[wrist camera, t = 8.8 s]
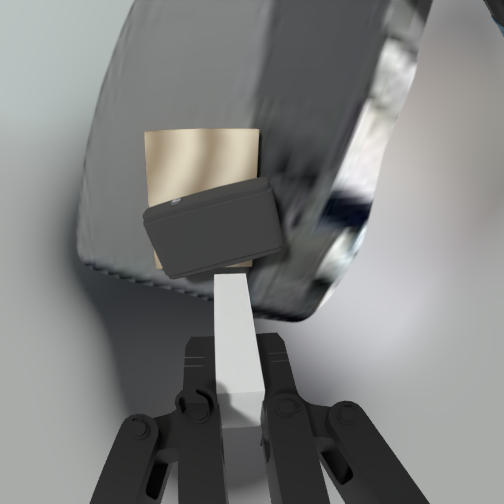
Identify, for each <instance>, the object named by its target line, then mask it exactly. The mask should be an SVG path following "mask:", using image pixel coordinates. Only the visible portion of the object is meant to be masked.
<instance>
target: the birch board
mask: <svg viewBox="0 0 504 504" xmlns="http://www.w3.org/2000/svg"><path fill="white" fill-rule="evenodd" d="M258 142H259V130H258V129H222V128H219V129H178V130H160V131H147V132H145V155H146V173H147V187H148V200H149V208H150V207H152V206H155V205H158V204H161V203H164V202H167V201H170V200H174V199H177V198H180V197H184V196H187V195H190V194H194V193H197V192H201V191H204V190H208V189H212V188H215V187H219V186H223V185H227V184H232V183H236V182H240V181H245V180H249V179H254V178H257V161H258ZM154 254H155V261H156V268H157V269H160V268H162V266H161V263H160V261H159V259H158V257H157V254H156V252H155V250H154ZM226 267H252V260H249V261H246V262H242V263H238V264H234V265H230V266H226Z"/></svg>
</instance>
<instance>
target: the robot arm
mask: <svg viewBox="0 0 504 504" xmlns="http://www.w3.org/2000/svg"><path fill="white" fill-rule="evenodd" d="M483 1H484V2H485V4H486V6H487V7H488V9H489V11H490V13H491V17H492V18H493V20H494V22H495V23H496V24H497V25H498V27H499V29H500V31H501V32H502V34H503V36H504V0H483ZM214 314H215V315H214V318H215V321H214V322H215V336H211V337H191V338H190V340H189V342H188V343H187V345H186V349H185V363H184V365H185V367H184V381H183V390H182V391H181V392H180V393H179V394H178V395H177V397H176V400H175V405H176V408H177V409H176V410H175V411H173V412H172V413H170V414H167V415H163V416H159V417H155V418H151V417H149V416H147V415H144V414H135V415H131V416H129V417H128V418H126V419H125V420H124V422H123V424H122V425H121V427H120V429H119V432H118V434H117V436H116V439H115V441H114V443H113V446H112V448H111V450H110V453H109V455H108V458H107V460H106V463H105V465H104V467H103V470H102V473H101V475H100V477H99V480H98V483H97V485H96V488H95V490H94V493H93V496H92V498H91V501H90V504H160V503H161V500H162V496H163V493H164V490H165V487H166V484H167V480H168V477H169V474H170V470H171V467H172V463H173V462H177V461H178V501H179V504H229V503H228V493H227V482H226V471H225V460H224V447H223V438H222V428H237V427H252V426H260V424H261V428H262V437H261V446H263V451H264V458H265V465H266V472H267V478H268V484H269V491H270V497H271V503H272V504H330V501H329V497H328V493H327V489H326V485H325V481H324V477H323V473H322V469H321V465H320V462H321V463H322V465H323V466H324V468H325V470H326V472H327V474H328V475H329V477H330V479H331V480H332V482H333V484H334V485H335V487H336V489H337V490H338V492H339V494H340V495H341V497H342V499H343V500H344V502H345V504H430V503H429V502H428V500H427V499H426V498H425V496H424V495H423V494H422V492H421V491H420V489H419V488H418V486H417V485H416V484H415V482H414V481H413V479H412V478H411V477H410V475H409V474H408V472H407V471H406V470H405V468H404V467H403V465H402V464H401V462H400V461H399V460H398V458H397V457H396V455H395V454H394V453H393V451H392V450H391V448H390V447H389V446H388V444H387V443H386V441H385V440H384V439H383V437H382V436H381V434H380V433H379V432H378V430H377V429H376V427H375V426H374V424H373V423H372V422H371V420H370V419H369V417H368V416H367V415H366V413H365V412H364V410H363V409H362V408H361V407H360V406H359V405H358V404H356V403H354V402H351V401H341V402H338V403H336V404H335V405H333V406H332V407H327V406H319V405H314V404H310V403H308V402H306V401H305V400H303V399H302V398H301V397H300V396H299V394H298V392H297V389H296V386H295V382H294V378H293V374H292V370H291V366H290V362H289V359H288V355H287V351H286V347H285V343H284V341H283V339H282V338H281V337H280V336H279V335H278V334H277V333H263V334H255V329H254V323H253V317H252V311H251V305H250V299H249V292H248V286H247V280H246V274H214ZM319 460H320V461H319Z"/></svg>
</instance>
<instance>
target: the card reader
mask: <svg viewBox="0 0 504 504" xmlns="http://www.w3.org/2000/svg"><path fill="white" fill-rule="evenodd" d="M143 219H144V222H143V224H144V227H145V229H146V231H147V234H148V236H149V239H150V241H151V243H152V245H153V248H154V250H155V252H156V254H157V257H158V259H159V261H160V263H161V266H162V268H163V270H164V272H165V274H166V275H167V276H169V278H170V279H178V278H182V277H187V276H191V275H195V274H199V273H203V272H207V271H211V270H215V269H219V268H222V267H226V266H230V265H234V264H238V263H242V262H246V261H249V260H253V259H256V258H260V257H264V256H267V255H271V254H274V253H277V252H280V251H281V250H282V249H283V247H282V245H283V237H282V232H281V227H280V223H279V218H278V213H277V209H276V204H275V199H274V195H273V190H272V187H271V185H270V184H269V183H268V180H267V179H266V177H258V178H254V179H249V180H245V181H240V182H236V183H232V184H227V185H223V186H219V187H215V188H212V189H208V190H204V191H201V192H197V193H194V194H190V195H187V196H184V197H180V198H177V199H174V200H170V201H167V202H164V203H161V204H158V205H155V206H152V207H150V208H148V209H146V211H145V212H144V214H143Z"/></svg>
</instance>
